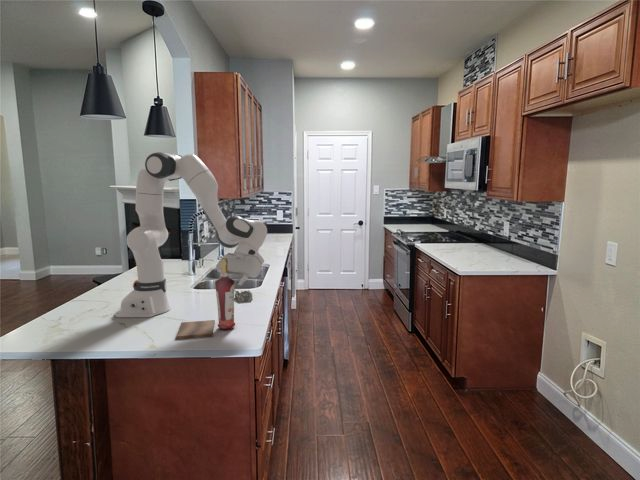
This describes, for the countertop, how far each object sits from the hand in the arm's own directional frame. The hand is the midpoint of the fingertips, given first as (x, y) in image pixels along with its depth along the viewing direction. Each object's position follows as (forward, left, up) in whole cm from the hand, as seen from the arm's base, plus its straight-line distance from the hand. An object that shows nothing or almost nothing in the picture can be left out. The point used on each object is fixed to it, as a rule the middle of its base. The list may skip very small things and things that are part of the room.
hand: (229, 283), depth 156 cm
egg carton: (+6, +37, -18) cm, 42 cm away
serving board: (-13, -2, -18) cm, 22 cm away
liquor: (-2, -2, -18) cm, 18 cm away
